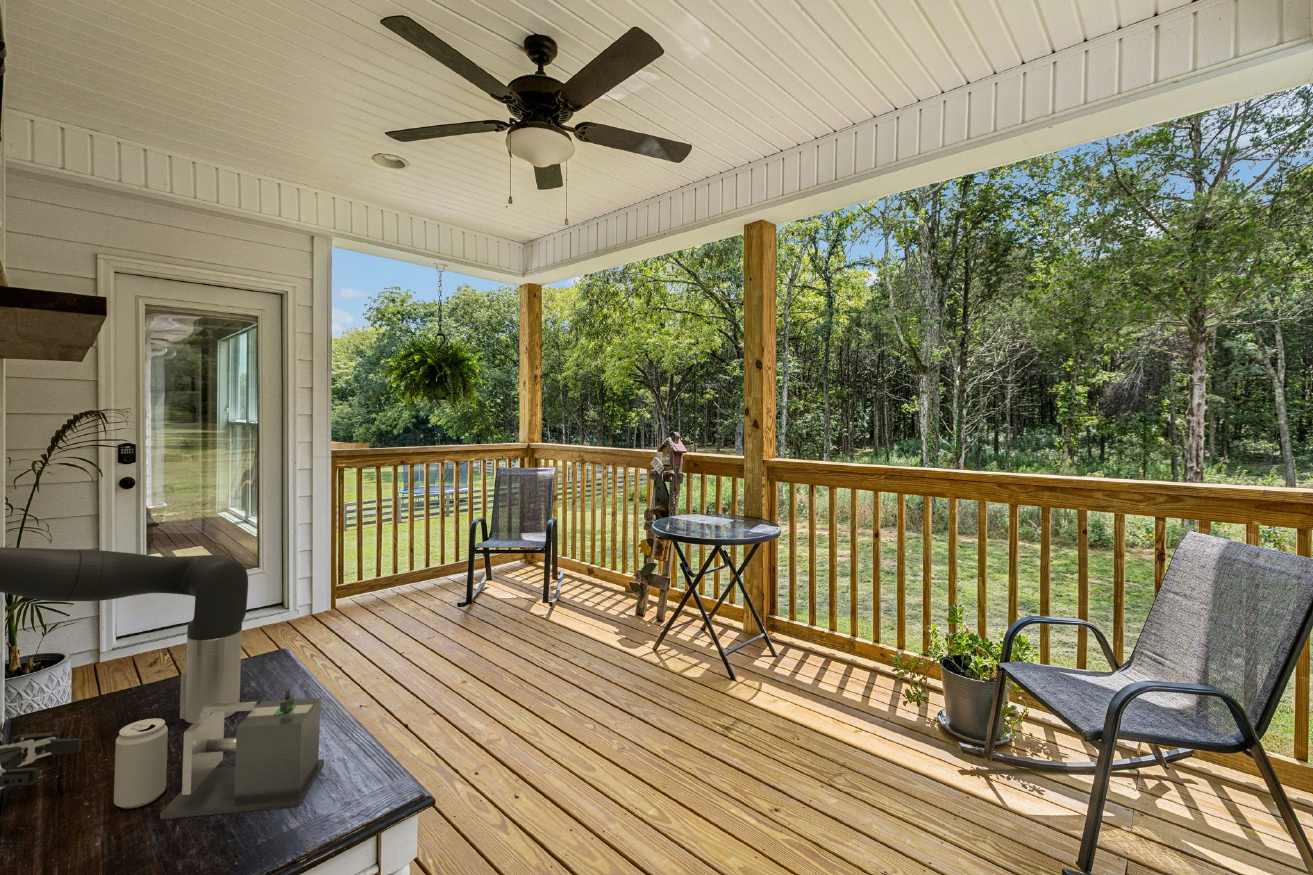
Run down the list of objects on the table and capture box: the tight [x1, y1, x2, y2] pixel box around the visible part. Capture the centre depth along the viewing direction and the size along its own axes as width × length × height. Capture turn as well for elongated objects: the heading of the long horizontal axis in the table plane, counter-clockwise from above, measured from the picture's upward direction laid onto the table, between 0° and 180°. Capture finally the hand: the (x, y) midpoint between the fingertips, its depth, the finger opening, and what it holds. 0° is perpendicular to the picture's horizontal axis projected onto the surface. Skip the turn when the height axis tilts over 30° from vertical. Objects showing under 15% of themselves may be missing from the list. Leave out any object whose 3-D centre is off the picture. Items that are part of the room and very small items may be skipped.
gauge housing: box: [159, 697, 325, 821], centre depth 98 cm, size 20×12×13 cm, turn 103°
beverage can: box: [113, 717, 169, 809], centre depth 95 cm, size 6×6×12 cm
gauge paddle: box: [181, 701, 258, 795], centre depth 97 cm, size 9×10×12 cm
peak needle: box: [280, 687, 295, 712], centre depth 99 cm, size 1×3×3 cm, turn 13°
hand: (59, 759), depth 92 cm, fingers open, 8 cm apart
